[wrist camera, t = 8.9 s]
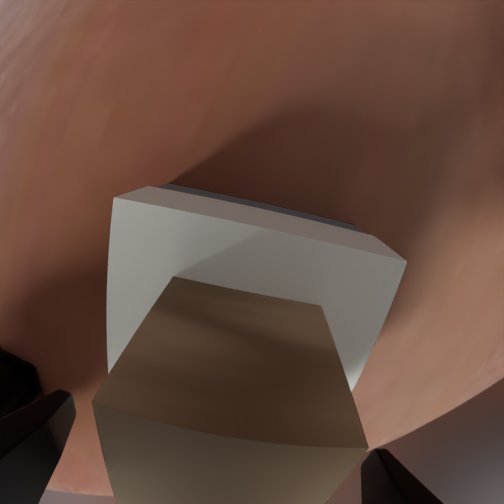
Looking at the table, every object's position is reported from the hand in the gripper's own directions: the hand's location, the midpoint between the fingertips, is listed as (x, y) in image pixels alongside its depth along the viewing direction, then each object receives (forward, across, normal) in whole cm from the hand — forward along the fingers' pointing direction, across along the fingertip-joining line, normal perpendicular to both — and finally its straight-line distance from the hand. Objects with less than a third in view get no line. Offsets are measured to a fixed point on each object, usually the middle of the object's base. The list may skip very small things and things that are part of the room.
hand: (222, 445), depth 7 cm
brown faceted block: (+4, 0, -1) cm, 4 cm away
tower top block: (+7, 0, 0) cm, 7 cm away
